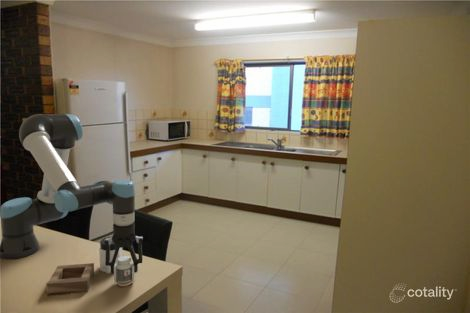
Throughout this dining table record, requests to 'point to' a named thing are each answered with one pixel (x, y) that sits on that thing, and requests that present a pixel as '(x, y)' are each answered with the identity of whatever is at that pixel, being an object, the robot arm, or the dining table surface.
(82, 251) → the dining table surface
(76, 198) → the robot arm
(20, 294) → the dining table surface
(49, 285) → the socket block
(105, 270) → the jar
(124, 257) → the pill bottle
